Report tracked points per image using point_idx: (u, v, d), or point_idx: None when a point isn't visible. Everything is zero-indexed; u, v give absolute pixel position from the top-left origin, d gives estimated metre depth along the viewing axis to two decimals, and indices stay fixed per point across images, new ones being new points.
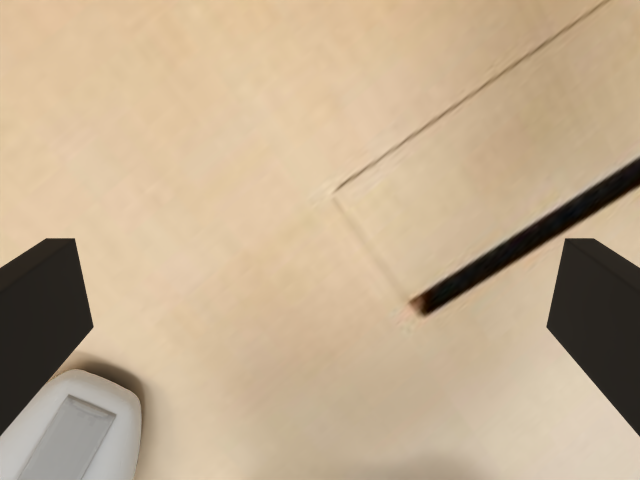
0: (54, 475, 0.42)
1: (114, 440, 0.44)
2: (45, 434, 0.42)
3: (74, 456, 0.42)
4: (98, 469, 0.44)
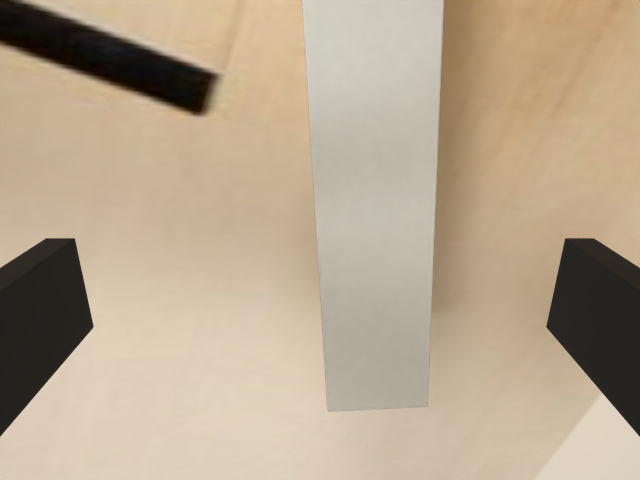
0: None
1: None
2: None
3: None
4: None
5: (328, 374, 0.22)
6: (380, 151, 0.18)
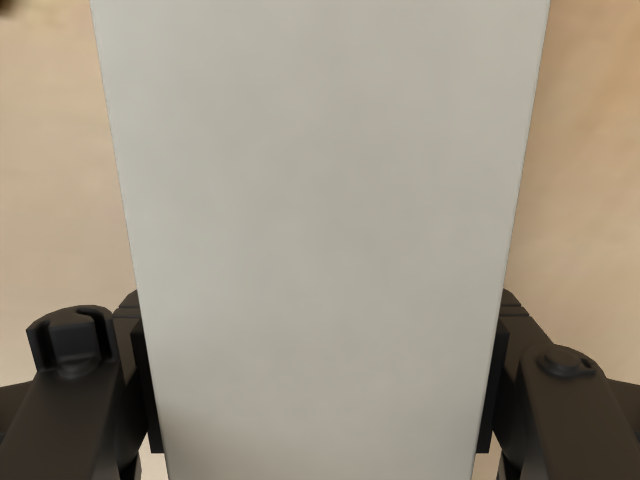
0: None
1: None
2: None
3: None
4: None
5: None
6: (337, 41, 0.05)
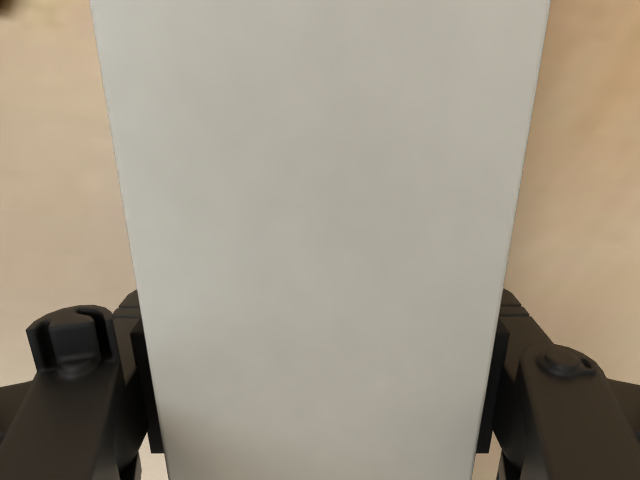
0: None
1: None
2: None
3: None
4: None
5: None
6: (338, 42, 0.05)
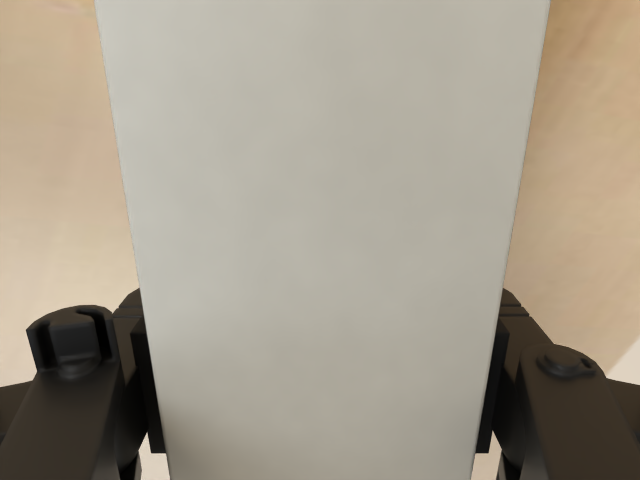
0: None
1: None
2: None
3: None
4: None
5: None
6: (339, 42, 0.05)
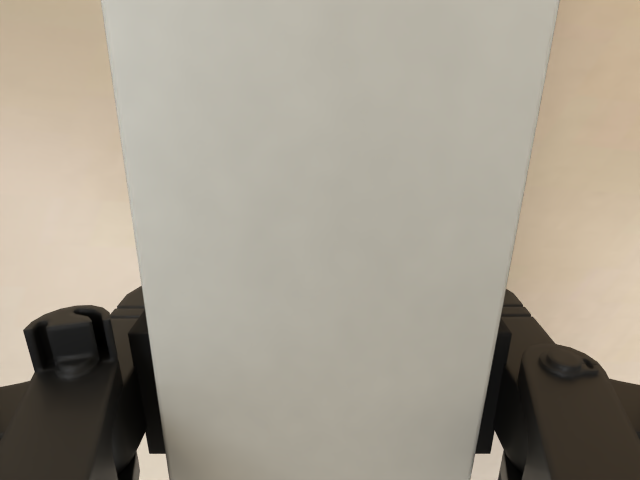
0: None
1: None
2: None
3: None
4: None
5: None
6: (347, 46, 0.05)
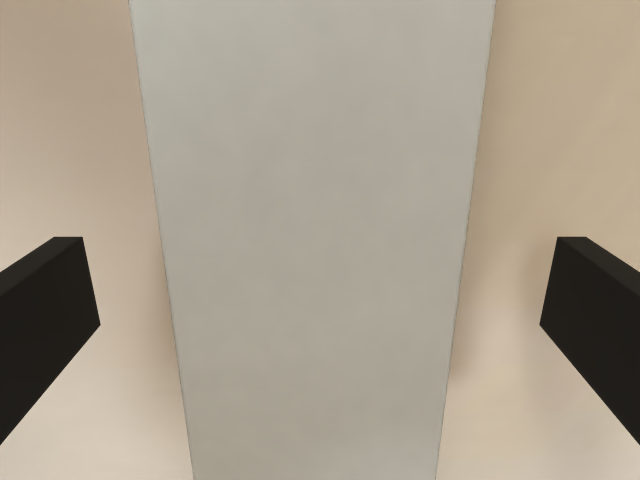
0: None
1: None
2: None
3: None
4: None
5: None
6: (326, 8, 0.06)
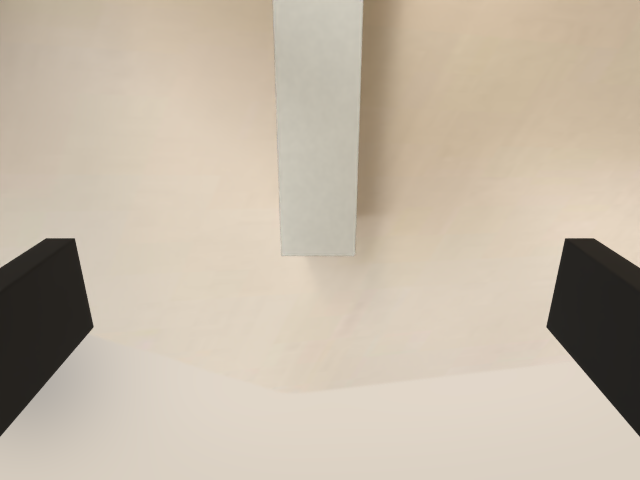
0: None
1: None
2: None
3: None
4: None
5: (282, 223, 0.30)
6: (321, 49, 0.26)
